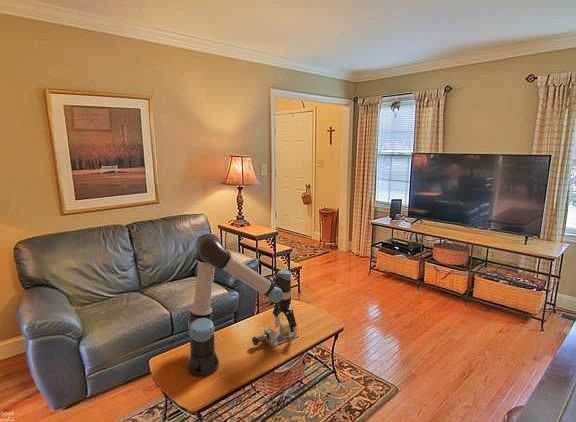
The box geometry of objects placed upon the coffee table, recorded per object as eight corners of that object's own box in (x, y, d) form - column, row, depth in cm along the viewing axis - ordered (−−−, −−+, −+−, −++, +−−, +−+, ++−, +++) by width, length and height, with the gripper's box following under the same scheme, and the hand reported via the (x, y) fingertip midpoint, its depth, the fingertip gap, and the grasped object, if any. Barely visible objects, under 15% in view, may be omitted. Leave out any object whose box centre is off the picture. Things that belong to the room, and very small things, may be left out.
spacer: (283, 337, 195) (283, 326, 194) (279, 334, 199) (279, 323, 197) (289, 335, 198) (289, 323, 197) (285, 331, 201) (285, 321, 200)
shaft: (256, 347, 185) (256, 339, 184) (252, 343, 188) (252, 335, 187) (275, 339, 192) (275, 332, 191) (270, 336, 195) (270, 328, 194)
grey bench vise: (273, 347, 187) (273, 335, 186) (262, 338, 196) (262, 326, 195) (298, 336, 198) (298, 325, 196) (287, 328, 207) (287, 317, 205)
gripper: (303, 303, 186) (302, 339, 190) (277, 288, 206) (277, 320, 210) (292, 307, 182) (291, 343, 186) (266, 291, 201) (266, 324, 205)
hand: (284, 331), depth 198 cm, fingers open, 13 cm apart
